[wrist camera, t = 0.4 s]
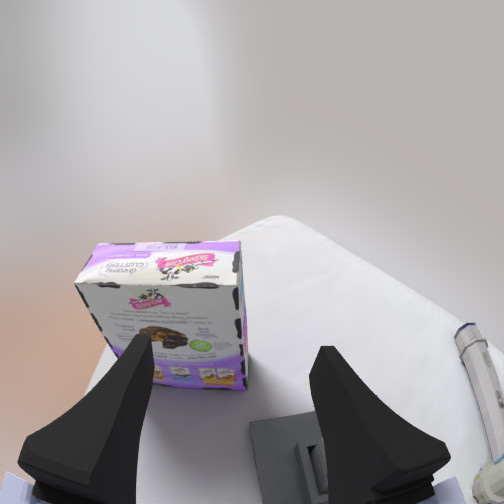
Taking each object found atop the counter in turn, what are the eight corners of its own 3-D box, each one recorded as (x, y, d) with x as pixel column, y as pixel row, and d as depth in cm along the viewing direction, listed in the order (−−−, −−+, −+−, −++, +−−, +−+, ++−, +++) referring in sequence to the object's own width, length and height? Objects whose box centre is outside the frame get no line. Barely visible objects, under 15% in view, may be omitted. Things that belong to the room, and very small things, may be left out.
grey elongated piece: (485, 321, 31) (542, 478, 9) (466, 354, 34) (504, 502, 13) (457, 320, 32) (511, 494, 10) (439, 355, 35) (472, 514, 14)
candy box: (249, 350, 35) (243, 237, 25) (247, 393, 30) (239, 286, 20) (142, 344, 36) (97, 239, 26) (130, 383, 31) (70, 281, 21)
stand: (410, 505, 17) (430, 499, 15) (271, 546, 16) (272, 550, 14) (374, 398, 29) (386, 381, 26) (249, 425, 27) (248, 411, 25)
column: (358, 481, 20) (384, 467, 16) (317, 493, 20) (333, 484, 16) (348, 446, 23) (369, 424, 19) (308, 456, 23) (320, 437, 19)
